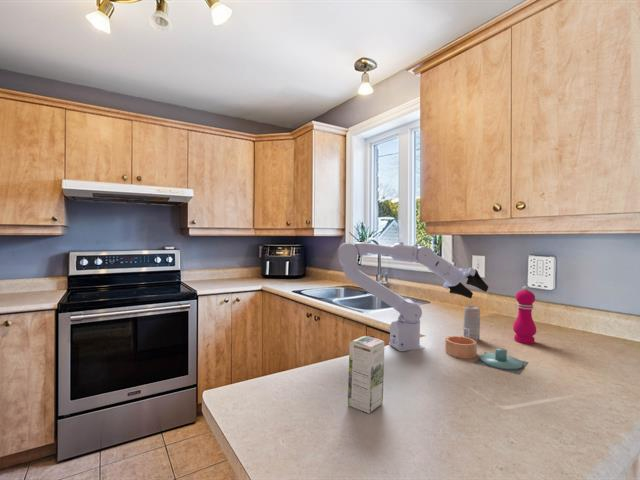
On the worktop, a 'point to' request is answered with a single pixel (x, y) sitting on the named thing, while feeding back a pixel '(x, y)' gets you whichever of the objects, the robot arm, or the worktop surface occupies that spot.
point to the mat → (503, 369)
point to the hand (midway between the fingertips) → (479, 292)
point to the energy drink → (472, 322)
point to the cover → (501, 360)
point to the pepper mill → (524, 317)
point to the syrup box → (366, 373)
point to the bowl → (460, 347)
